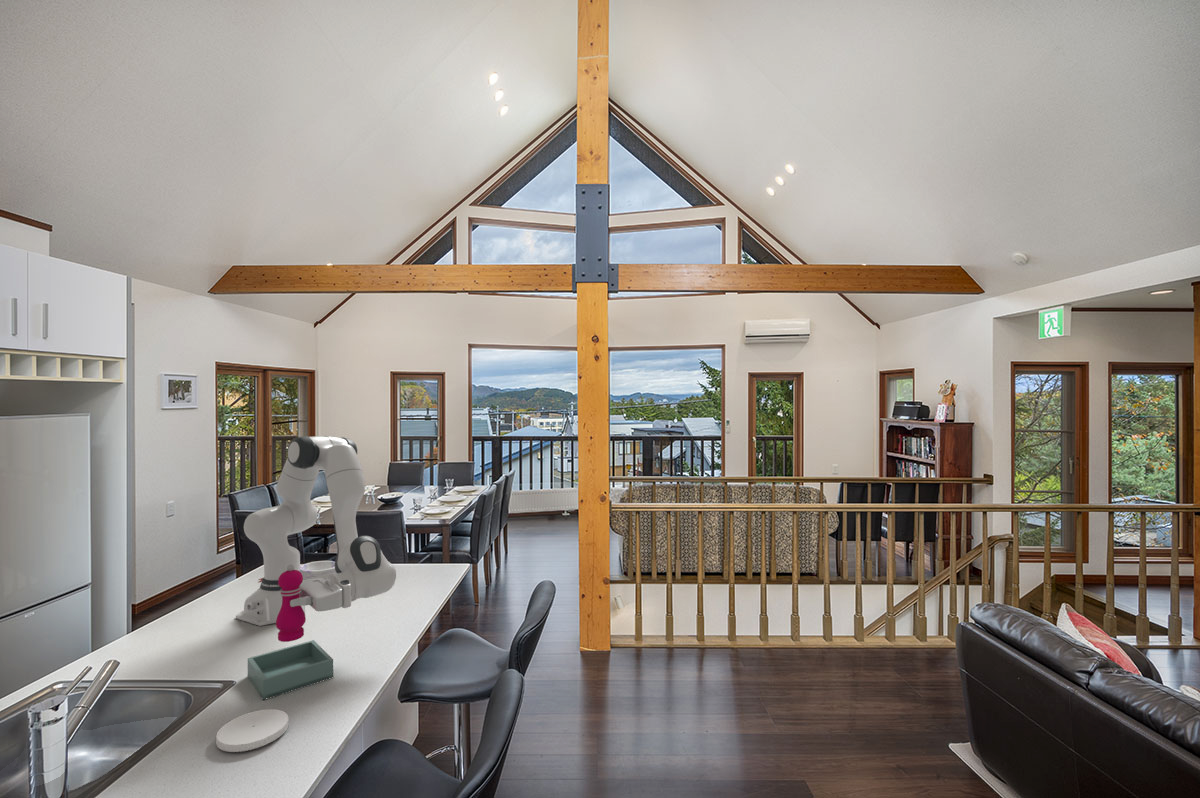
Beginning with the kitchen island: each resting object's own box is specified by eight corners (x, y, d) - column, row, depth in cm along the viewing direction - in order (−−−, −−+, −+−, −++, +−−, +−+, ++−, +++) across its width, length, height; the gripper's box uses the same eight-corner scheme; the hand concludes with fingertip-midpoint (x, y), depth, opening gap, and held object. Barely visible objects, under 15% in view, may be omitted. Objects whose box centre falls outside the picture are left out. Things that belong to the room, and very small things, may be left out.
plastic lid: (214, 733, 130) (214, 722, 130) (283, 713, 139) (283, 702, 139) (218, 765, 119) (218, 753, 119) (293, 740, 128) (293, 729, 128)
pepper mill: (311, 633, 158) (311, 562, 158) (290, 644, 151) (289, 569, 151) (291, 630, 161) (291, 560, 160) (269, 640, 154) (269, 567, 154)
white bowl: (347, 582, 235) (347, 563, 235) (312, 593, 222) (312, 573, 222) (325, 576, 243) (325, 558, 243) (290, 586, 230) (290, 567, 230)
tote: (247, 676, 156) (247, 658, 156) (313, 656, 168) (313, 640, 168) (263, 700, 144) (263, 680, 144) (333, 677, 156) (333, 659, 156)
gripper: (327, 569, 172) (276, 580, 163) (352, 586, 157) (297, 598, 148) (327, 590, 172) (276, 602, 163) (352, 608, 157) (298, 622, 148)
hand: (287, 600), depth 155 cm, fingers closed on pepper mill, 4 cm apart
